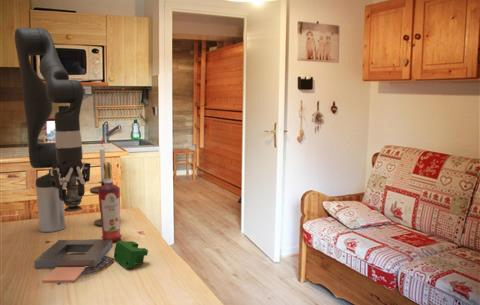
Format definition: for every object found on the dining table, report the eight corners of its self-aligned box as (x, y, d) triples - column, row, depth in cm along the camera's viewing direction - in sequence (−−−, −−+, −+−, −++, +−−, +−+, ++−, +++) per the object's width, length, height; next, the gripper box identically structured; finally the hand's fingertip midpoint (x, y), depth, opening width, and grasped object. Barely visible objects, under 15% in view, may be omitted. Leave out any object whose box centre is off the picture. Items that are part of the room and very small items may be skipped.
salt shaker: (86, 208, 134) (84, 171, 133) (68, 213, 130) (66, 174, 128) (77, 205, 138) (74, 169, 136) (59, 209, 134) (56, 172, 132)
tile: (55, 269, 127) (55, 267, 127) (86, 268, 127) (86, 266, 127) (42, 282, 118) (42, 280, 118) (74, 282, 118) (74, 280, 118)
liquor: (120, 235, 156) (116, 160, 152) (124, 241, 149) (120, 163, 145) (99, 238, 153) (95, 162, 149) (102, 245, 146) (97, 165, 142)
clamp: (141, 278, 130) (151, 254, 128) (123, 279, 126) (133, 255, 124) (129, 252, 139) (138, 230, 136) (111, 252, 135) (121, 229, 132)
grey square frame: (59, 246, 145) (59, 239, 145) (112, 246, 145) (112, 239, 145) (34, 268, 127) (34, 260, 127) (95, 267, 127) (94, 260, 127)
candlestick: (122, 219, 177) (118, 135, 172) (116, 227, 166) (112, 138, 161) (96, 219, 176) (91, 135, 171) (88, 228, 165) (83, 138, 160)
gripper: (79, 142, 139) (82, 192, 142) (40, 147, 127) (44, 202, 129) (95, 143, 135) (98, 194, 138) (56, 148, 123) (60, 205, 125)
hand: (72, 198), depth 133 cm, fingers closed on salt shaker, 6 cm apart
